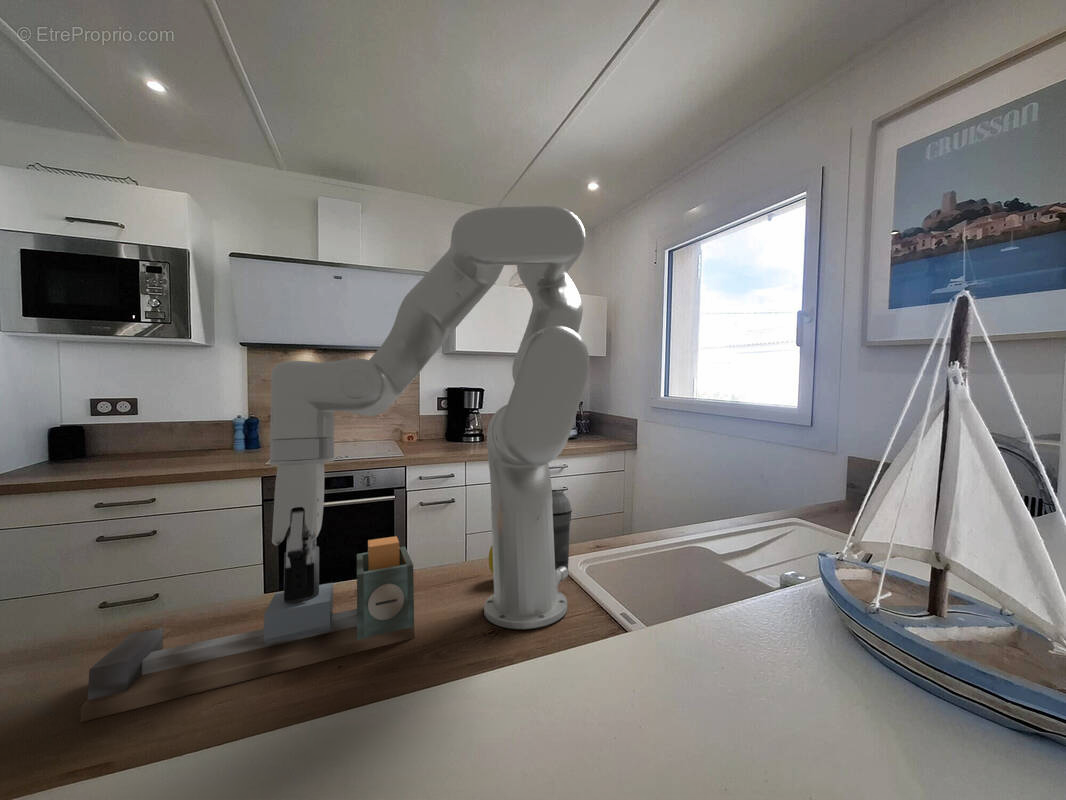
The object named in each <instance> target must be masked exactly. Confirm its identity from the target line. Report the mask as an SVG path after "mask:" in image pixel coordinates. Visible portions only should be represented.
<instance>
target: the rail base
mask: <svg viewBox="0 0 1066 800" xmlns="http://www.w3.org/2000/svg"><path fill="white" fill-rule="evenodd" d="M399 556H400V566H394V567H388V568H382V569H377V570H371V571H368V551H367V552H362V553H357V554H356V608H355V609H354V608H353V609H349V610H344V611H340V612H335V613H333V614H331V629H330V630H329V631H324V632H320V633H315V634H311V635H306V636H302V637H297V638H293V639H289V640H284V641H280V642H275V643H271V644H266V645H265V643H266V640H264V627H263V628H258V629H254V630H249V631H244V632H240V633H239V632H238V633H235V634H230V635H226V636H221V637H215V638H211V639H205V640H201V641H195V642H191V643H187V644H186V643H185V644H183V645H182V644H181V645H179V646H173V647H167V648H163V647H164V646H163V643H164V642H163V641H164V627H158V628H155V629H154V628H153V629H148V630H143V631H138V632H133V633H130V634H129V635H127V636H126V637H125V638H124V639H123V640H122V641H121V642H119V643H118V644H117V645H116V646H115V647H113V648H112V649H111V650H109V652H107V654H105V655H104V656H103V657H102V658H100V660H98V661H97V662H96V663H95V664H94V665H92V666H91V667H90V668H89V669H88V686H87V687H88V688H87V690H88V691H87V700H86V701H85V702H84V703H83V704H82V705H81V706H80V723H84V722H88V721H91V720H95V719H100V718H103V717H107V716H111V715H115V714H120V713H124V712H127V711H131V710H135V709H139V708H143V707H148V706H150V705H154V704H159V703H162V702H166V701H172V700H174V699H179V698H184V697H186V696H190V695H194V694H195V695H196V694H198V693H202V692H205V691H210V690H214V689H218V688H219V689H220V688H221V687H225V686H226V687H227V686H229V685H234V684H237V683H238V684H239V683H241V682H245V681H249V680H253V679H254V680H255V679H257V678H258V679H259V678H261V677H266V676H268V675H273V674H277V673H281V672H285V671H289V670H294V669H297V668H301V667H305V666H309V665H313V664H317V663H321V662H325V661H328V660H333V659H337V658H340V657H341V658H342V657H344V656H345V657H346V656H348V655H353V654H357V653H361V652H364V651H369V650H372V649H376V648H381V647H384V646H389V645H391V644H396V643H400V642H404V641H408V640H412V639H415V589H414V587H415V586H414V585H415V584H414V581H415V580H414V579H415V578H414V563H413V561H412V559H411V556H410V554H409V553H408V550H407V548H406V546H401V547H400V546H399Z"/></svg>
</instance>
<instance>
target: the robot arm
mask: <svg viewBox="0 0 1066 800" xmlns="http://www.w3.org/2000/svg"><path fill="white" fill-rule="evenodd" d="M584 227H585V226H584V225H583V223H582V221H581V220H580V219H579V217H578V216H577V215H576V214H574V212H572V211H570V210H568V209H566V208H564V207H560V206H556V205H555V206H554V205H533V206H529V205H528V206H527V205H526V206H500V207H499V206H495V207H487V208H480V209H474V210H471V211H469V212H466V213H464V214H463V215H461V216H460V217H459V218H458V219H457V220H456V222H454V225H453V227H452V230H451V238H450V244H449V245H450V247H449V248H448V250H447V251H446V253H444V255H442V257H441V258H440V259H439V260H438V261H437V262H436V263H435V264H434V265H433V266H432V267H431V269H429V270H428V272H427V273H426V274H425V275H424V276H423V277H422V278H421V279H420V280H419V281H418V282H417V283H416V284H415V285H414V286H413V287H412V288H411V289H410V290H409V292H408V293H407V294H406V295H405V296H404V298H403V300H402V301H401V303H400V306H399V308H398V311H397V314H396V316H395V320H394V323H393V326H392V328H391V330H390V331H389V334H388V335H387V337H386V338H385V340H384V341H383V343H382V344H381V345H380V347H379V348H378V349H377V350H376V352H374V353H373V355H372V356H371V357H370V358H369V359H366V358H346V359H341V360H333V361H324V362H317V361H309V360H308V361H307V360H305V361H304V360H288V361H283V362H279V363H277V364H275V366H274V367H273V368H272V371H271V378H270V381H271V382H270V431H269V432H270V434H269V435H270V441H269V445H270V447H269V466H277V470H276V477H275V483H274V484H275V486H274V499H273V502H274V503H273V515H272V516H273V518H272V534H271V535H272V536H271V543H272V544H273V545H274V546H279V545H281V543H282V542H283V541H284V540H285V538H286V548H285V549H286V550H285V552H286V567H285V587H284V586H283V591H284V599H285V600H286V601H290V600H296V599H301V598H306V597H311V596H313V594H314V563H312V546H317V537H318V536H319V534H320V532H321V530H322V525H323V516H324V505H325V463H330V462H334V461H335V411H336V412H337V411H338V412H346V413H351V414H352V413H353V414H357V415H360V416H364V417H365V416H366V417H367V416H368V417H369V416H371V417H373V416H376V415H380V414H382V413H384V412H385V411H387V410H388V409H389V408H390V407H391V406H392V405H393V404H394V403H395V401H397V400H398V399H399V397H400V396H401V395H402V394H403V392H405V391H406V389H407V388H408V387H409V385H410V384H411V383H412V382H413V381H414V380H415V378H417V377H418V375H419V374H420V373H421V371H422V370H423V369H424V367H425V366H426V365H427V364H428V362H429V361H430V360H431V359H432V358H433V356H434V355H435V354H436V353H437V351H439V350H440V348H441V347H442V346H443V345H444V343H446V340H447V339H448V338H449V336H451V335H452V333H453V332H454V331H455V329H456V328H457V327H458V326H459V325H460V323H462V321H463V320H464V319H465V318H466V317H467V316H468V315H469V314H470V312H471V311H472V310H473V309H474V308H475V307H476V306H477V304H478V303H480V301H481V300H482V299H483V297H485V295H486V294H487V293H488V292H489V291H490V289H491V288H492V287H493V286H494V285H495V283H496V282H497V280H498V279H499V278H500V276H501V273H502V271H503V269H504V266H516V270H517V274H518V277H519V279H520V281H521V283H522V284H523V285H524V287H525V289H526V290H527V291H528V293H529V294H530V295H529V296H530V297H531V300H532V309H531V312H530V316H529V319H528V323H527V326H526V329H525V331H524V334H523V337H522V339H521V342H520V345H519V347H518V349H517V352H516V355H515V357H514V359H513V363H512V368H511V369H512V370H511V371H512V373H511V374H512V379H513V382H514V384H513V387H512V390H511V394H510V397H509V399H508V402H507V404H505V405H503V406H502V407H500V408H499V409H498V410H497V411H495V412H494V414H493V415H492V417H491V418H490V421H489V423H488V426H487V430H486V449H487V459H488V468H489V480H490V482H489V483H490V501H491V503H490V505H491V507H490V509H491V513H490V514H491V537H492V538H491V539H492V540H491V543H492V544H491V546H492V547H493V574H492V575H493V577H492V578H493V594H491V595H490V596H489V597H488V598H487V599H486V600H485V602H484V605H483V611H484V612H483V613H484V616H485V618H486V619H487V620H488V621H489V622H491V623H492V624H494V625H495V626H498V627H502V628H505V629H511V630H532V629H533V630H534V629H539V628H542V627H546V626H549V625H551V624H554V623H556V622H557V621H559V620H561V619H562V618H563V617H564V616H565V615H566V614H567V611H568V599H567V597H566V596H565V595H564V594H563V593H562V592H561V591H560V590H559V588H558V587H559V585H560V582H561V581H563V580H564V579H566V578H567V577H568V576H569V571H568V570H569V569H568V570H567V569H566V568H565V567H564V566H561V567H559V568H557V569H556V570H555V553H554V532H553V510H552V504H553V502H552V490H553V487H552V478H551V471H550V467H549V463H551V462H552V461H554V460H555V459H556V458H557V457H558V456H560V454H561V453H562V452H563V451H564V448H565V447H566V444H567V442H568V440H569V439H570V435H571V432H572V431H573V430H572V429H573V426H574V423H575V419H576V417H577V413H578V411H579V408H580V407H579V406H580V403H581V401H582V398H583V394H584V391H585V388H586V384H587V380H588V377H589V371H590V355H589V350H588V347H587V344H586V343H585V341H584V339H583V338H582V336H581V335H580V334H579V331H580V328H581V322H582V318H583V315H584V313H583V311H584V307H583V301H582V298H581V295H580V293H579V291H578V289H577V286H576V285H575V283H574V282H573V280H572V279H571V277H570V276H569V274H568V273H567V272H569V270H570V269H571V268H572V266H574V264H575V263H576V262H577V260H578V259H579V258H580V256H581V254H582V252H583V251H584V248H585V245H586V231H585V228H584ZM304 546H307V549H306V547H304ZM306 551H307V553H306Z"/></svg>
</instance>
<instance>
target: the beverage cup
mask: <svg viewBox="0 0 1066 800" xmlns="http://www.w3.org/2000/svg"><path fill="white" fill-rule="evenodd" d="M552 502H553V504H552V510H553V532H554V553H555V570H556V569H557V568H559V567H561V566H564V567H565V568H566V569H567V570H569V559H570V557H569V555H570V525H571V521H572V512H573V511H572V507H571V502H570V500H569V498H568V497H567V495H566V494H565V493H563V492H562V491H560V490H558V489H552Z"/></svg>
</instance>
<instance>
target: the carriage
mask: <svg viewBox="0 0 1066 800" xmlns="http://www.w3.org/2000/svg"><path fill="white" fill-rule="evenodd" d="M304 547H306V549H307V546H304ZM306 553H307V551H306ZM283 554H284V555H283V557H284V559H283V561H284V563H283V588H284V587H285V567H286V551H285V552H284V553H283ZM312 563H314V594H313V596H311V597H306V598H301V599H296V600H290V601H286V600H285V599H284V590H283V591H280V592H275V593H274V595H273V596H272V598H271V600H270V603H269V604H268V606H267V608H266V610H265V612H264V615H263V616H264V617H263V628H264V640H266V643H265V645H266V644H271V643H275V642H280V641H284V640H289V639H293V638H297V637H302V636H306V635H311V634H315V633H320V632H324V631H329V630H330V629H331V614H334V613H333V609H334V608H333V607H334V606H333V605H334V582H328V583H322V584H320V547H319V546H318V545H316V546H312Z"/></svg>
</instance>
